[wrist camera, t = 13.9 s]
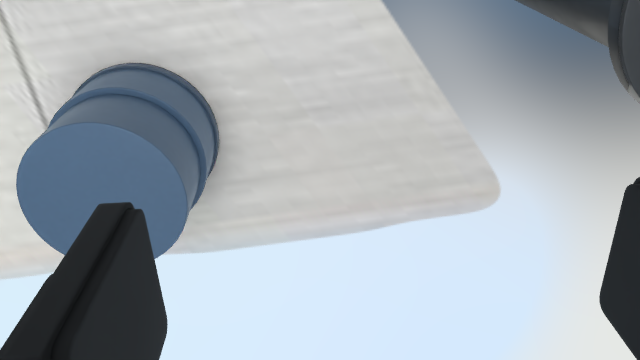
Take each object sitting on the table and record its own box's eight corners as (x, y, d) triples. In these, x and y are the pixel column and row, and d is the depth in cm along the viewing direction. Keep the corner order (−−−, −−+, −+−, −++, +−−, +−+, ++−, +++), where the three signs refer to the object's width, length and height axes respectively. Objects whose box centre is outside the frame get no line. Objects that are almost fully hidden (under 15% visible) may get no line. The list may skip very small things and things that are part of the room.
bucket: (208, 59, 39) (182, 107, 31) (227, 196, 45) (209, 271, 36) (51, 66, 39) (-22, 117, 31) (87, 203, 45) (35, 280, 36)
